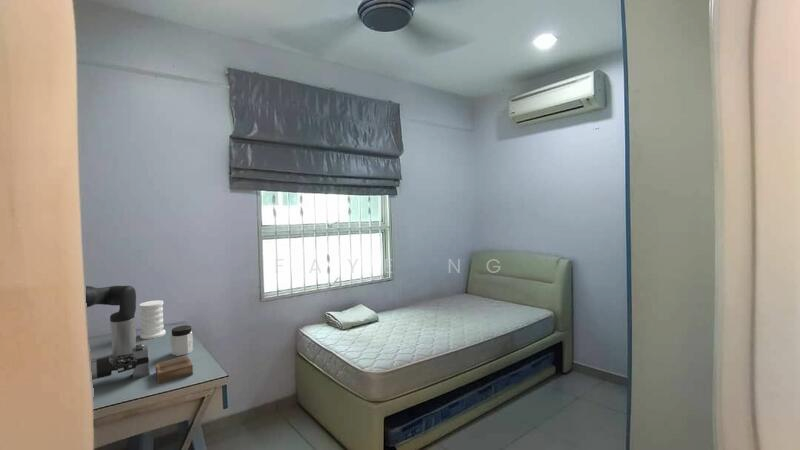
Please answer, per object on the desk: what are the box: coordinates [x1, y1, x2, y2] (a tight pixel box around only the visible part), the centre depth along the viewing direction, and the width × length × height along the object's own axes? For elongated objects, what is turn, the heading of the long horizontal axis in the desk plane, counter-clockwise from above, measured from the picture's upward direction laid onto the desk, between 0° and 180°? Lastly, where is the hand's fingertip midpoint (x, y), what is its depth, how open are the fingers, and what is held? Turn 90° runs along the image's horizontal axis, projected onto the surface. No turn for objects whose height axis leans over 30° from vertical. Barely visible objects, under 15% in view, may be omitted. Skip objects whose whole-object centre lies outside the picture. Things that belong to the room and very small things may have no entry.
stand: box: [155, 355, 194, 384], centre depth 152 cm, size 12×12×4 cm
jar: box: [170, 324, 194, 357], centre depth 173 cm, size 9×8×12 cm
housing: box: [132, 343, 151, 380], centre depth 151 cm, size 6×6×12 cm
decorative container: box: [139, 299, 166, 340], centre depth 196 cm, size 12×12×18 cm
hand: (147, 357), depth 152 cm, fingers closed on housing, 5 cm apart
